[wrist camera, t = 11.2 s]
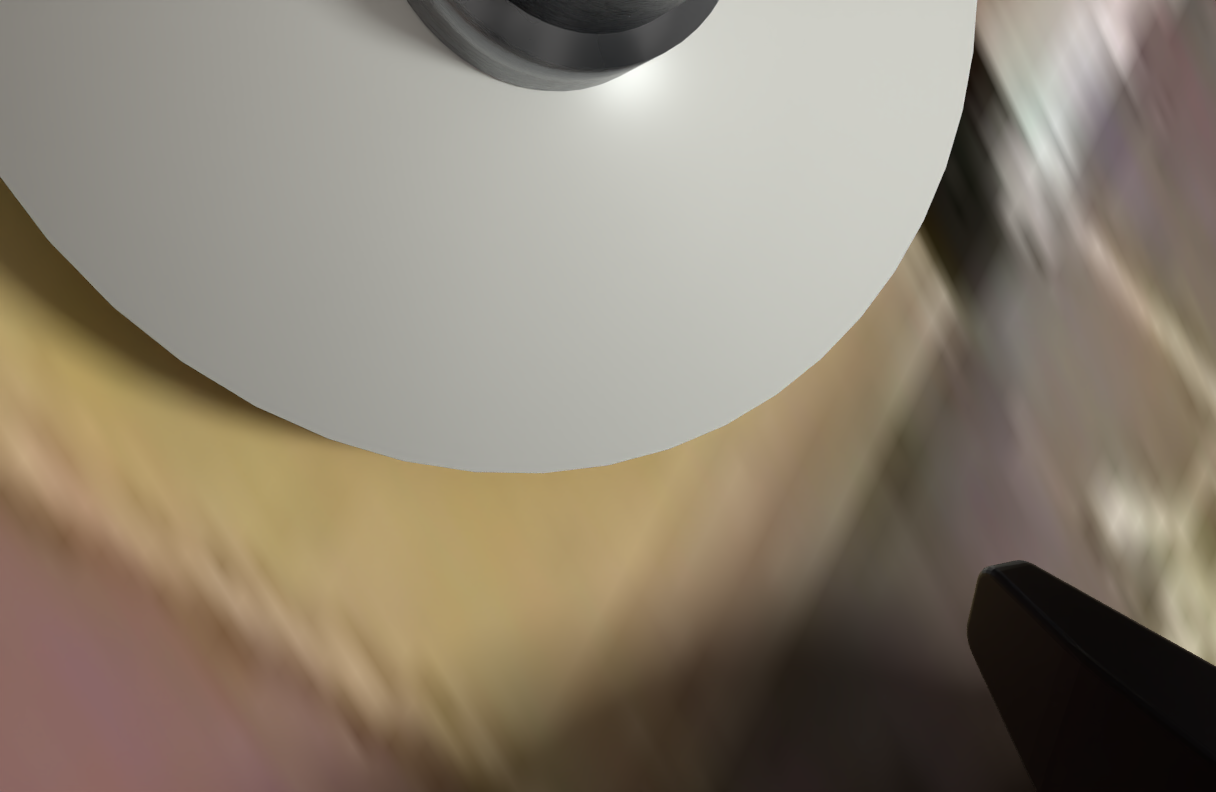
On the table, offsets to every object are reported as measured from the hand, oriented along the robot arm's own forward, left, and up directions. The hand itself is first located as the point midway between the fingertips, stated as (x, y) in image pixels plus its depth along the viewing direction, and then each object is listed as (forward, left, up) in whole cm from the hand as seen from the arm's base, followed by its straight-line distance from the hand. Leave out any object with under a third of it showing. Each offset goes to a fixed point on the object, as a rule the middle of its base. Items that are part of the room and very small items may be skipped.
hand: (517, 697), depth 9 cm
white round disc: (+7, +10, -12) cm, 17 cm away
